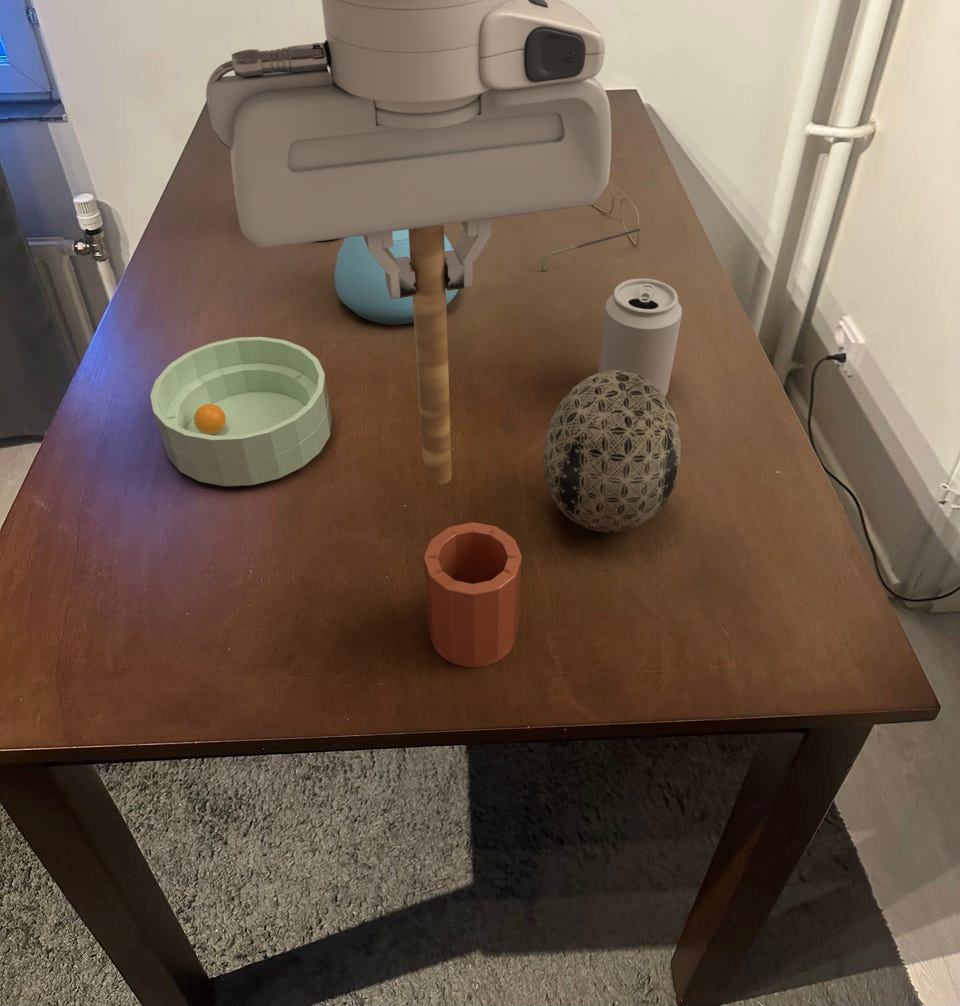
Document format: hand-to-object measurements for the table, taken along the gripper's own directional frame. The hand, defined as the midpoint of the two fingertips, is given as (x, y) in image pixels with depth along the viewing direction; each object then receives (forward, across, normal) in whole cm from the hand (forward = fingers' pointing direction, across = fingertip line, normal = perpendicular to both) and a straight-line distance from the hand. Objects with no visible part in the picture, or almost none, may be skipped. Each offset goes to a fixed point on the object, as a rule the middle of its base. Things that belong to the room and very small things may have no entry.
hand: (429, 288), depth 53 cm
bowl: (+30, -14, +27) cm, 42 cm away
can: (+30, +26, +23) cm, 46 cm away
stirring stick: (+15, 0, 0) cm, 15 cm away
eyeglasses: (+30, +32, +58) cm, 73 cm away
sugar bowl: (+30, +6, +49) cm, 58 cm away
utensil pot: (+30, +2, -3) cm, 30 cm away
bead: (+28, -17, +28) cm, 43 cm away
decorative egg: (+30, +17, +7) cm, 35 cm away
